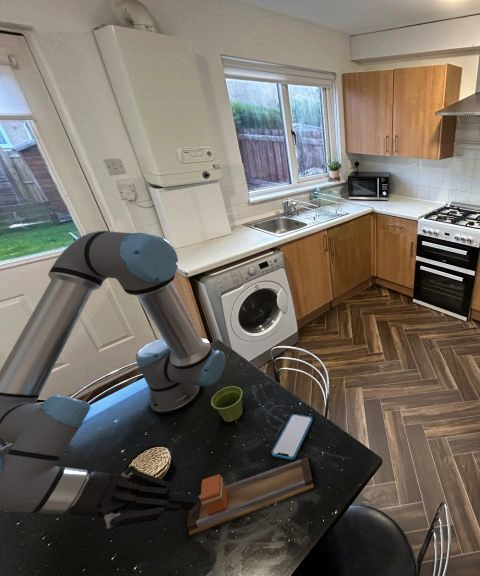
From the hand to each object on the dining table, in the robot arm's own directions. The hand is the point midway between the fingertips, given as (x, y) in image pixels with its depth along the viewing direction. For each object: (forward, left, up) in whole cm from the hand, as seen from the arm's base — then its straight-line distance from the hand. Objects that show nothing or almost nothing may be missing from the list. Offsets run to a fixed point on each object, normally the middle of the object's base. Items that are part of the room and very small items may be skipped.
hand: (194, 503), depth 76 cm
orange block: (0, +5, -5) cm, 7 cm away
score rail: (0, +13, -6) cm, 14 cm away
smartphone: (-14, +25, -6) cm, 29 cm away
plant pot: (-30, +7, -6) cm, 31 cm away
